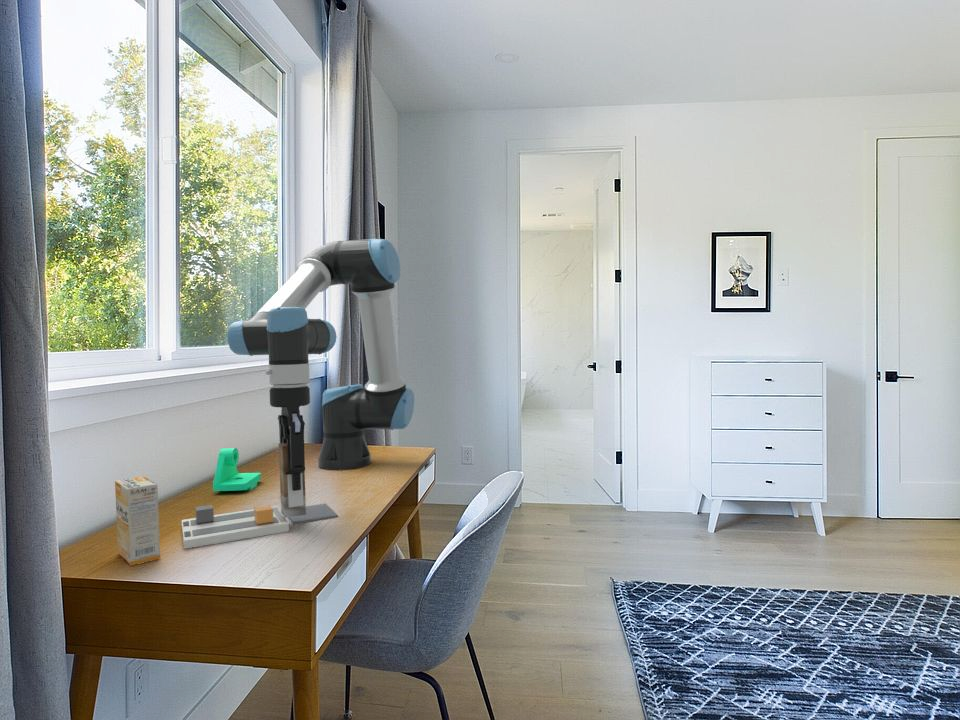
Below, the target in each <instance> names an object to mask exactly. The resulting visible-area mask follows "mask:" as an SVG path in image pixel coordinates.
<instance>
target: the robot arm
mask: <svg viewBox="0 0 960 720" xmlns="http://www.w3.org/2000/svg"><path fill="white" fill-rule="evenodd" d="M400 277H401V263H400V259H399V255H398V253H397V251H396V248H395V246H394V245H393V243H392V242H391V241H390V240H388V239H383V238H368V239H367V238H365V239H364V238H363V239H362V238H361V239H351V240H336V241H335V240H334V241H332V242H327V243H325V244H323V245H321V246H319V247H317V248H315V249H314V250H312V251H311V252H309V253H308V254H307V255H306V256H305V257H304V258H302V259H301V260H300V261H299V262H298V264H297V265H296V267H295V272H294V273H293V274H292V275H291V276H290V278H288V280H287V281H286V282H284V284H283V285H282V286H281V287H279V289H278V290H277V291H276V292H275V293H274V294H273V295H272V296H271V297H270V298H269V299H268V300H267V301H266V302H265V303H264V305H263V306H261V307H260V308H259V310H257V312H256V313H254V315H253V316H252V317H251V318H250V319H249V320H245V319H243V320H242V319H241V320H239V321H238V320H237V321H234V322H232V323H231V324H230V325H229V327H228V329H227V333H226V341H227V344H228V347H229V349H230V350H231V352H232V353H234V354H235V355H238V356H239V355H240V356H250V357H252V356H268V368H269V369H266V370H265V374H266V376H267V375H268V377H269V380H268V381H269V384H270V386H272V387H270V389H269V405H270V406H271V407H273V408H281V409H280V410H281V412H280V414H278V416H277V421H278V429H279V431H278V433H279V443H287V453H288V467H289V470H288V472H285V475H287V478H288V507H289V508H290V507H297V506H303V476H302V473H303V471H305V472H306V463H305V462H306V461H305V460H306V459H305V425H306V423H305V421H304V416H303V414H301V413H300V412H301V411H300V407H304V406H308V405H309V404H310V402H311V398H310V397H311V392H310V389H311V388H310V387H309V386H308V384H309V383H310V381H311V380H310V363H309V361H310V360H309V355H322V354H325V353H327V352H330V351H331V350H332V349H333V348H334V346H335V344H336V342H337V332H336V328H335V327H334V326H333V325H332V323H330V322H329V321H327V320H325V319H324V320H323V319H322V318H309V317H308V313H307V312H308V311H307V310H306V309H307V308H308V306H309V305H310V304H311V302H312V301H313V300H314V299H315V298H316V296H317V295H318V294H319V293H322V292H324V291H327V290H328V288H329V287H331V286H336V285H350V288H351V290H350V291H351V293H352V294H353V295H355V296H356V297H357V298H358V299H357V300H358V306H359V315H360V321H361V329H362V335H363V344H364V353H365V359H366V368H367V374H368V381H367V382H366V383H365V384H364V386H363V384H362V383H360V384H351V385H343V386H339V387H332V388H327V389H325V390H324V391H323V394H322V404H321V407H322V428H323V442H322V445H321V447H320V452H319V455H318V459H317V462H318V463H317V464H318V467H319V468H320V469H323V470H332V471H333V470H336V471H337V470H351V469H359V468H362V467H366V466H369V465H370V464H372V458H371V457H372V456H371V452H370V450H369V447H368V444H367V441H366V438H365V430H390V431H393V430H403V429H406V428H407V427H408V426H409V424H410V423H411V421H412V418H413V414H414V413H413V412H414V409H415V407H414V406H415V395H414V394H415V393H414V391H413V389H411V388H409V387H408V388H407V386H406V385H407V384H406V380H404V378H402V377H401V376H400V372H399V363H398V354H397V346H396V337H395V327H394V319H393V309H392V303H391V293H392V292H393V291H394V289H395V288H396V287H395V283H397V282H398V281H399V280H400Z"/></svg>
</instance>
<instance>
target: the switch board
mask: <svg viewBox="0 0 960 720" xmlns="http://www.w3.org/2000/svg"><path fill="white" fill-rule="evenodd" d="M271 507H272V508H273V522H269V523H263V524H256V522H255V515H254V508H253V509H252V508H251V509H247V510H240V511H233V512H227V513H226V512H225V513H220V514H214V521H210V522H204V523H197V522H196V517H192V518H187V519H186V518H185V519H181V532H182V541H183V549H184V550H185V549H186V548H187V549H193V548H198V547H197V546H199V547H204V545H205V546H208V545H216V544H217V545H218V544H222V543H227V542H234V541H240V540H244V539H250V538H257V537H262V536H263V537H264V536H268V535H273V534H274V535H275V534H281V533H286V532H289V531H290V523H289V521H288V520H287V518H285V517H284V516H283V515H282V513H281V510H280V509H279V508H278V506H277V505H273V506H271ZM192 547H193V548H192Z"/></svg>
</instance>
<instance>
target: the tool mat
mask: <svg viewBox="0 0 960 720" xmlns="http://www.w3.org/2000/svg"><path fill="white" fill-rule="evenodd" d="M338 517H339V515H338V514H337V513H336V511H334V510H333V509H332V508H331V507H330V506H329V505H328V504H327V503H319V504H312V505H306V515H301V516H295V517H289V518H288V519H289V521H290V522H291V524H292V525H297V524H302V523H309V522H315V521H321V520H327V519H333V518H338Z"/></svg>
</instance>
